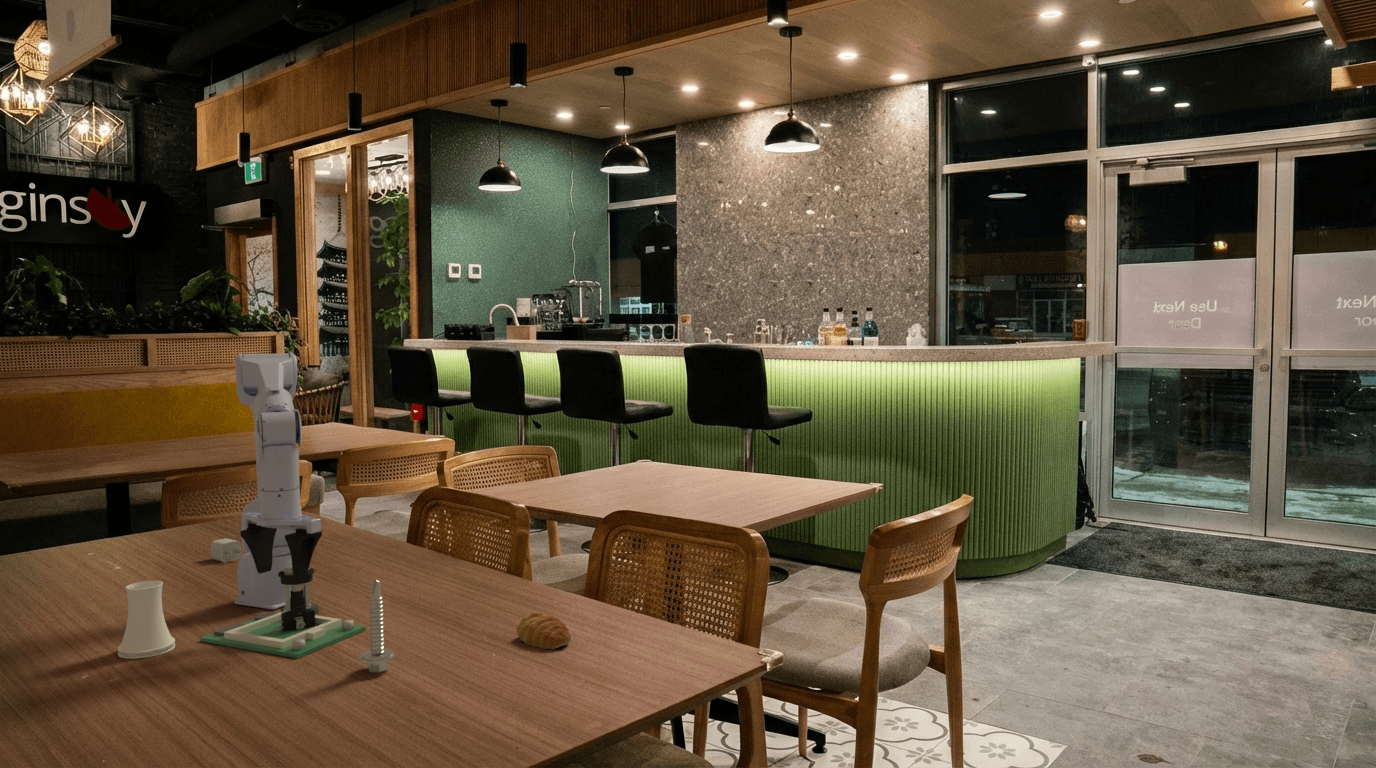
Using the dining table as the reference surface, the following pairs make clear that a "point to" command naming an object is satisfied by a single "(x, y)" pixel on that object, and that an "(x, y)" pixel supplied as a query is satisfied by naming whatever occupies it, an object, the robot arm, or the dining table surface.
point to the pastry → (543, 631)
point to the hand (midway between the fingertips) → (282, 574)
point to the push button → (296, 601)
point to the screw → (376, 634)
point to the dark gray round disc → (313, 606)
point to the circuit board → (283, 635)
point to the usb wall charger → (225, 550)
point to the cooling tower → (145, 622)
